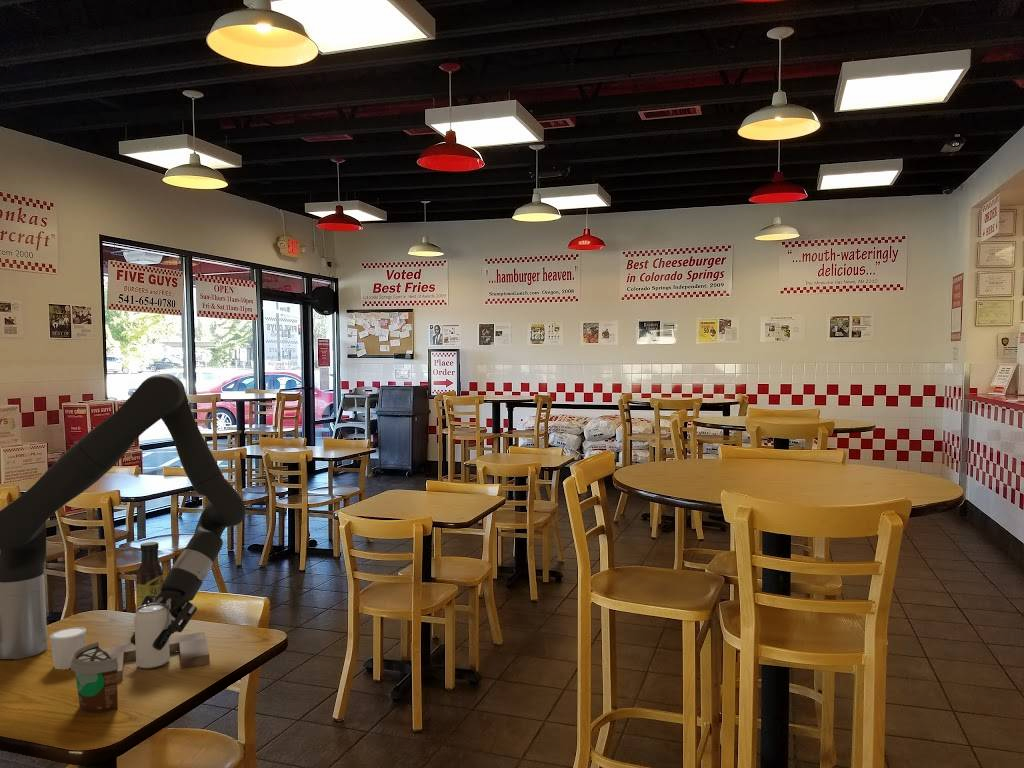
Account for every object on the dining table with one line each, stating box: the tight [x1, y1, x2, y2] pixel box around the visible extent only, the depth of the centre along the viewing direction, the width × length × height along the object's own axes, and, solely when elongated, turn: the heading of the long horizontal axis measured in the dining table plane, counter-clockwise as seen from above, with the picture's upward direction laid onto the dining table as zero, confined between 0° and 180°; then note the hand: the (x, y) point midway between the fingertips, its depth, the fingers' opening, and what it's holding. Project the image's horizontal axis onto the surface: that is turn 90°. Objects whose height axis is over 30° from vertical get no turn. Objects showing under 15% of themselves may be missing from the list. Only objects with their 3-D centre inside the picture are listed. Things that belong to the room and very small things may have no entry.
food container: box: [70, 641, 119, 714], centre depth 140 cm, size 12×6×10 cm, turn 45°
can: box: [133, 603, 171, 670], centre depth 159 cm, size 6×6×12 cm
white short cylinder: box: [49, 626, 87, 670], centre depth 160 cm, size 7×7×7 cm
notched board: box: [100, 631, 211, 682], centre depth 161 cm, size 22×15×2 cm
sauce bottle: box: [135, 541, 165, 609], centre depth 184 cm, size 7×6×20 cm
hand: (145, 646), depth 157 cm, fingers closed on can, 6 cm apart
